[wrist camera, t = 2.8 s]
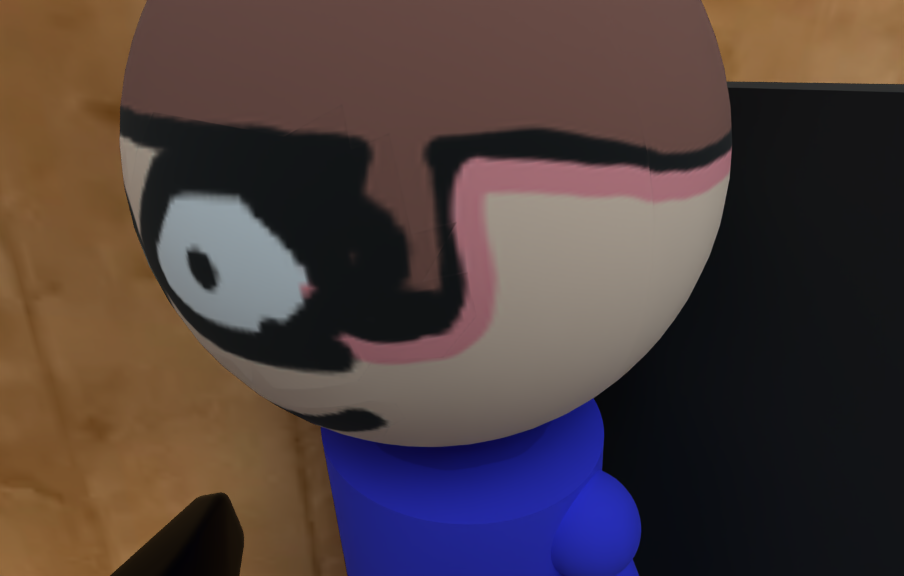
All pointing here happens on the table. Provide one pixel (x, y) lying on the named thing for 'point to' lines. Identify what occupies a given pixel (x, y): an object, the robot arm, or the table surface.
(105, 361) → the table surface
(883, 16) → the table surface
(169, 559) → the robot arm
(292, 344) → the character figurine
